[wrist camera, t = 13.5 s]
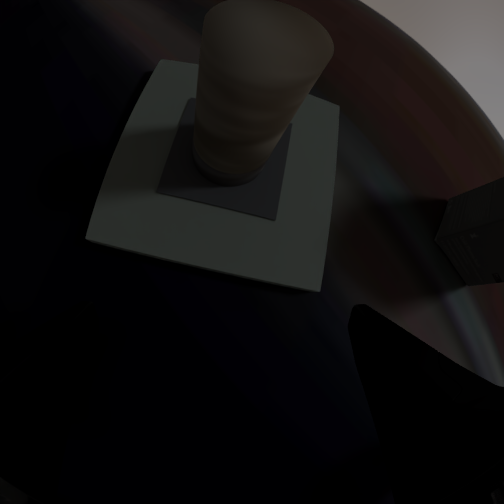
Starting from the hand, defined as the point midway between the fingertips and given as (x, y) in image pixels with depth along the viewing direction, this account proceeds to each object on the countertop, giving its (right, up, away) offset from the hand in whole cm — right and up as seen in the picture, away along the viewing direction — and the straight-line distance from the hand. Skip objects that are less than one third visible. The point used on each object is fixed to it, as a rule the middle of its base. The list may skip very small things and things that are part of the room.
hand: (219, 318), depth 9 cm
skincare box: (+24, +3, +16) cm, 29 cm away
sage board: (-1, +9, +11) cm, 14 cm away
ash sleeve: (-1, +9, +10) cm, 13 cm away
